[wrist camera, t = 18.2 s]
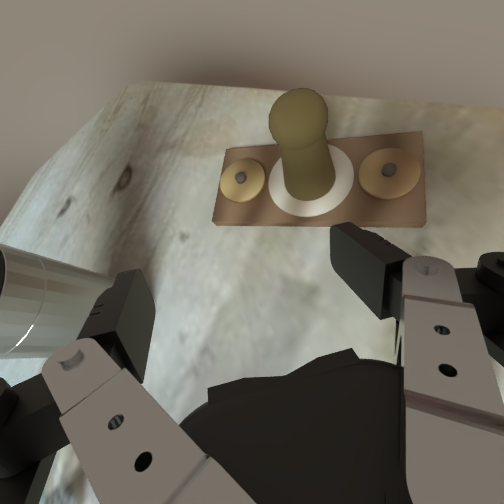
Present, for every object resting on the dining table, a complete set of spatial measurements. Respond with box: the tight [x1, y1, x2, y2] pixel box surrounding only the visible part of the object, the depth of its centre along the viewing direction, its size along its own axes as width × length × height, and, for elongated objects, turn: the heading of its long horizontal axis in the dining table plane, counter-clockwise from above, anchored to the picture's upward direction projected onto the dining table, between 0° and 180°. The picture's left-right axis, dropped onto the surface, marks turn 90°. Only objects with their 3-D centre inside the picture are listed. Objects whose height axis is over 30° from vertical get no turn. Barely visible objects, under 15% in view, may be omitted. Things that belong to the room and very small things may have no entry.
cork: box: [269, 88, 336, 201], centre depth 27 cm, size 6×6×11 cm
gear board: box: [212, 131, 426, 227], centre depth 33 cm, size 24×11×3 cm, turn 82°
